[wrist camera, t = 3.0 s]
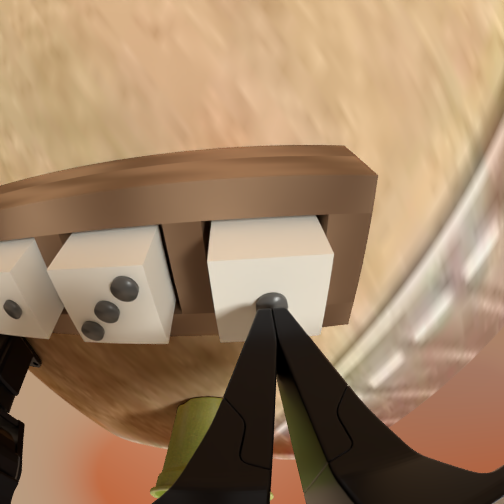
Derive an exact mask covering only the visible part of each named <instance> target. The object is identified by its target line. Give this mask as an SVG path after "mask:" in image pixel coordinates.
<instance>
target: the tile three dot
mask: <svg viewBox="0 0 504 504" xmlns="http://www.w3.org/2000/svg"><path fill="white" fill-rule="evenodd" d="M47 273H48V275H49V277H50V279H51V281H52V283H53V285H54V287H55V289H56V291H57V293H58V295H59V297H60V299H61V301H62V303H63V305H64V307H65V309H66V310H67V312H68V314H69V316H70V318H71V320H72V321H73V323H74V325H75V327H76V328H77V330H78V332H79V333H80V335H81V337H82V339H83V340H84V342H98V343H126V344H169V338H170V332H171V326H172V320H173V314H174V309H175V303H176V296H175V292H174V289H173V285H172V281H171V277H170V273H169V268H168V264H167V260H166V256H165V251H164V247H163V243H162V238H161V233H160V229H159V224H157V225H145V226H134V227H123V228H112V229H102V230H92V231H82V232H73V233H72V234H71V235H70V237H69V238H68V240H67V241H66V242H65V244H64V245H63V247H62V248H61V249H60V251H59V252H58V254H57V255H56V257H55V258H54V260H53V261H52V262H51V264H50V265H49V267H48V268H47Z"/></svg>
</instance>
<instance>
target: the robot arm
mask: <svg viewBox="0 0 504 504" xmlns="http://www.w3.org/2000/svg"><path fill="white" fill-rule="evenodd" d="M41 364H42V362H41V360H40V359H39V357H38V356H37V355H36V354H35V352H34V351H33V349H32V348H31V347H30V345H29V344H28V343H27V341H26V340H25V338H24V337H22V336H14V335H6V334H0V504H11V499H12V496H13V493H14V491H15V489H16V487H17V485H18V482H19V479H20V476H21V471H22V452H23V437H24V423H23V422H21V421H20V420H16V419H15V418H14V417H12V416H11V415H9V414H8V413H9V412H10V409H11V406H12V403H13V400H14V398H15V396H17V395H18V394H19V391H20V388H21V386H22V383H23V380H24V378H25V375H26V373H27V370H28V368H29V366H33V367H40V366H41ZM276 377H277V382H278V387H279V391H280V395H281V400H282V404H283V408H284V412H285V417H286V421H287V425H288V429H289V433H290V438H291V442H292V446H293V450H294V455H295V459H296V463H297V467H298V471H299V475H300V479H301V484H302V488H303V492H304V496H305V500H306V504H504V465H503V466H501V467H500V468H498V469H496V470H495V471H493V472H490V473H477V472H472V471H468V470H465V469H462V468H458V467H455V466H452V465H449V464H446V463H442V462H440V461H437V460H434V459H431V458H428V457H425V456H423V455H421V454H419V453H417V452H416V451H414V450H413V449H411V448H410V447H409V446H408V445H406V444H405V443H404V442H403V441H402V440H401V439H400V438H399V437H398V436H397V435H396V434H395V433H393V432H392V431H391V430H390V429H389V428H388V427H387V426H386V425H385V424H384V423H383V422H382V421H381V420H380V419H379V418H378V417H377V416H376V415H375V414H374V413H372V412H371V411H370V410H369V409H368V407H367V406H366V405H365V404H364V403H363V402H362V401H361V400H360V398H359V397H358V396H357V395H356V394H355V392H354V391H353V390H352V389H351V387H350V386H347V385H348V384H347V383H346V381H345V380H344V379H343V378H342V377H341V375H340V374H339V373H338V372H337V370H336V369H335V368H334V367H333V365H332V364H331V363H330V362H329V360H328V359H327V358H326V357H325V355H324V354H323V353H322V352H321V351H320V349H319V348H318V347H317V346H316V344H315V343H314V342H313V341H312V339H311V338H310V337H309V336H308V334H307V333H306V332H305V331H304V329H303V328H302V327H301V326H300V324H299V323H298V322H297V321H296V319H295V318H294V317H293V316H292V314H291V313H290V312H289V311H288V309H287V308H285V307H278V308H273V309H270V308H264V309H258V310H257V312H256V315H255V318H254V320H253V323H252V325H251V328H250V331H249V333H248V336H247V338H246V341H245V343H244V346H243V348H242V351H241V354H240V356H239V359H238V361H237V364H236V366H235V369H234V371H233V374H232V376H231V379H230V381H229V384H228V386H227V389H226V391H225V394H224V396H223V399H222V401H221V403H220V405H219V408H218V410H217V412H216V415H215V417H214V419H213V421H212V423H211V425H210V427H209V429H208V431H207V432H206V434H205V436H204V438H203V440H202V441H201V443H200V445H199V446H198V448H197V449H196V451H195V453H194V454H193V456H192V457H191V459H190V461H189V462H188V464H187V465H186V467H185V468H184V470H183V472H182V473H181V475H180V476H179V477H178V479H177V480H176V481H175V483H174V484H173V485H172V486H171V487H170V488H169V489H168V490H167V491H166V492H165V493H164V494H163V495H162V496H160V497H159V498H158V499H157V500H156V501H154V502H153V503H152V504H270V491H271V475H272V458H273V440H274V420H275V397H276Z"/></svg>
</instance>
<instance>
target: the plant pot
mask: <svg viewBox="0 0 504 504" xmlns="http://www.w3.org/2000/svg"><path fill="white" fill-rule="evenodd" d="M222 399H223V398H217V397H199V398H194V399H190V400H189V401H188V402H186V403H185V404H183V405H179V407H178V409H177V414H176V417H175V421H174V426H173V430H172V434H171V439H170V443H169V447H168V451H167V455H166V459H165V463H164V467H163V470H162V473H161V474H160V475H159V476H158V480H157V483H156V487H153V488H151V490H150V494H151V495H152V496H154V497H156V498H159V497H160V496H162V495H163V494H164V493H165V492H166V491H167V490H168V489H169V488H170V487H171V486H172V485H173V484H174V483H175V481H176V480H177V479H178V477H179V476H180V475H181V473H182V472H183V470H184V468H185V467H186V465H187V464H188V462H189V461H190V459H191V457H192V456H193V454H194V453H195V451H196V449H197V448H198V446H199V445H200V443H201V441H202V440H203V438H204V436H205V434H206V432H207V431H208V429H209V427H210V425H211V423H212V421H213V419H214V417H215V415H216V412H217V410H218V408H219V405H220V403H221V401H222ZM272 499H273V494H272V493H271V492H270V500H272Z"/></svg>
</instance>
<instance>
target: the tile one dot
mask: <svg viewBox="0 0 504 504" xmlns="http://www.w3.org/2000/svg"><path fill="white" fill-rule="evenodd" d="M333 258H334V252H333V250H332V248H331V246H330V244H329V242H328V240H327V237H326V235H325V233H324V231H323V229H322V227H321V225H320V223H319V221H318V219H317V217H316V215H301V216H279V217H260V218H242V219H226V220H212V221H211V230H210V239H209V249H208V258H207V264H208V271H209V277H210V284H211V290H212V296H213V303H214V309H215V315H216V321H217V326H218V332H219V338H220V343H223V342H243V341H246V338H247V336H248V333H249V331H250V328H251V325H252V323H253V320H254V318H255V315H256V312H257V310H258V309H264V308H270V309H273V308H278V307H285V308H287V309H288V311H289V312H290V313H291V314H292V316H293V317H294V318H295V319H296V321H297V322H298V323H299V324H300V326H301V327H302V328H303V329H304V331H305V332H306V333H307V334H308V336H316V335H320V334H321V329H322V324H323V318H324V313H325V307H326V302H327V296H328V290H329V284H330V277H331V271H332V264H333Z"/></svg>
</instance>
